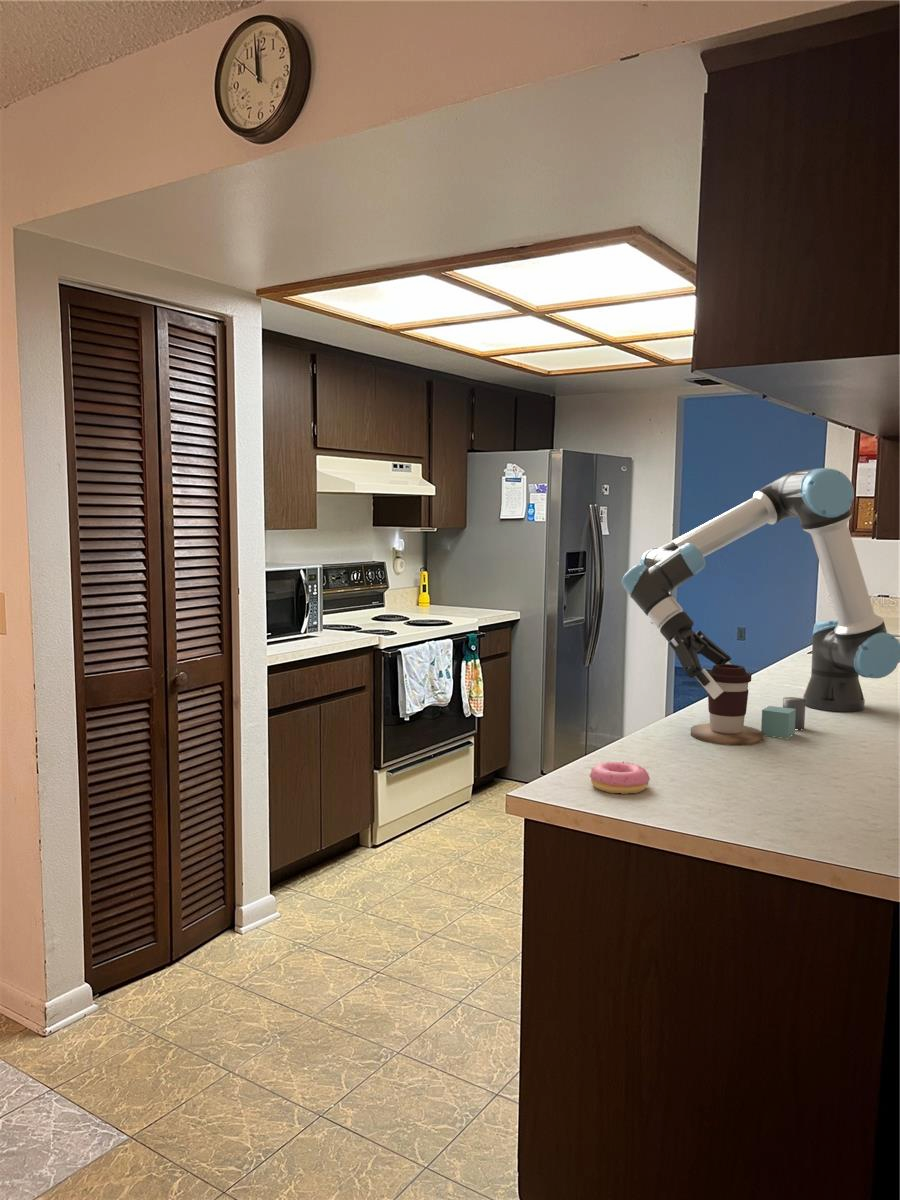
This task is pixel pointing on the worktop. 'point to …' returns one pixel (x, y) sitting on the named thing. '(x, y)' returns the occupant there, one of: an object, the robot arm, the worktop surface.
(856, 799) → the worktop surface
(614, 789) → the doughnut
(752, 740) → the walnut board
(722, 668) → the coffee cup
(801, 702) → the gray cylinder
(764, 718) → the teal block
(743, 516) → the robot arm
